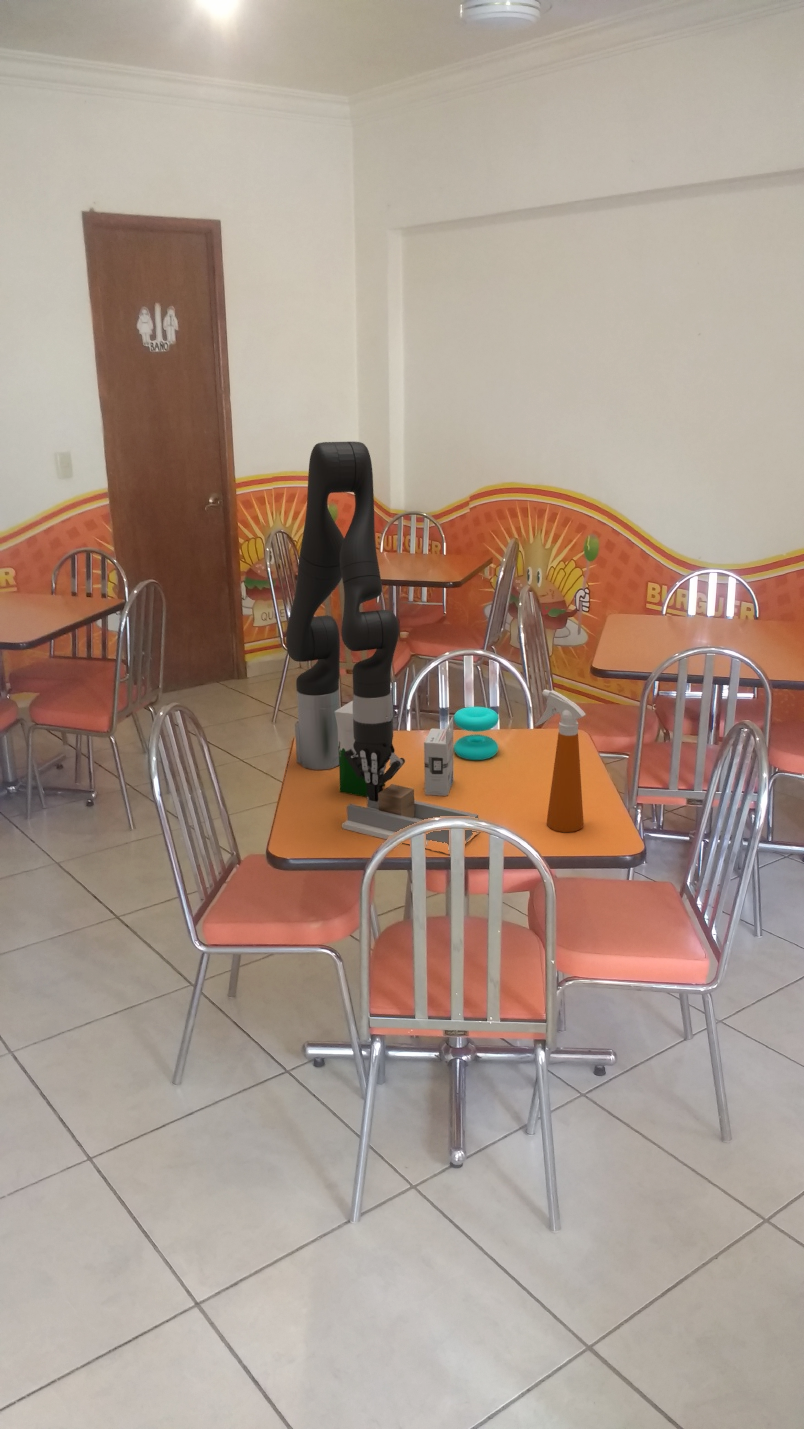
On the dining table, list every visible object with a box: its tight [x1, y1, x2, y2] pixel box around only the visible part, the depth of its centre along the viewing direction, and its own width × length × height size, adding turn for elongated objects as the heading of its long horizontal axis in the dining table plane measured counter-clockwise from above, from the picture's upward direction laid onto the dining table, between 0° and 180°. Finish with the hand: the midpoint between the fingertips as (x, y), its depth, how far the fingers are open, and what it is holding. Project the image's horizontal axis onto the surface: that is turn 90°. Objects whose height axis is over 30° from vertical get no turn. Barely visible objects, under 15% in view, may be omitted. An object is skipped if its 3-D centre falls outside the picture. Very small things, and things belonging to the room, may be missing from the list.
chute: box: [341, 796, 480, 851], centre depth 198 cm, size 24×12×4 cm, turn 59°
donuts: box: [453, 706, 499, 761], centre depth 233 cm, size 10×10×10 cm
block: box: [378, 783, 415, 818], centre depth 199 cm, size 5×5×6 cm
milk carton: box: [335, 700, 386, 798], centre depth 214 cm, size 9×9×20 cm
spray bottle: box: [533, 689, 586, 833], centre depth 196 cm, size 7×11×26 cm, turn 50°
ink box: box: [423, 716, 454, 797], centre depth 215 cm, size 9×5×15 cm, turn 168°
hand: (375, 799), depth 201 cm, fingers closed
